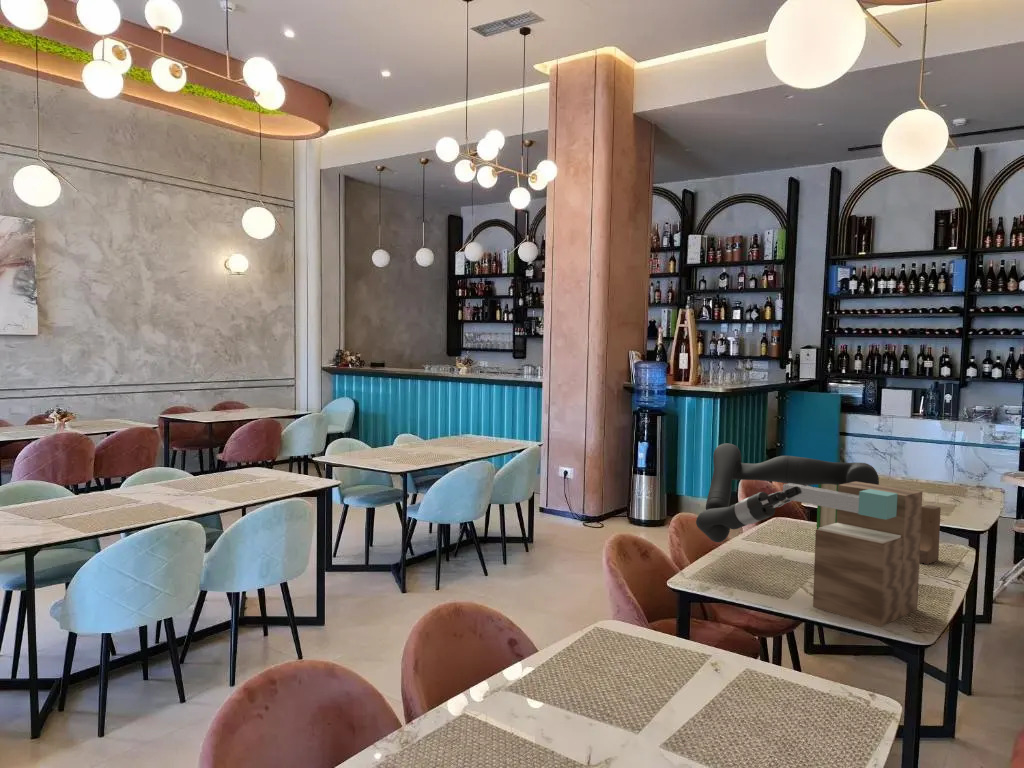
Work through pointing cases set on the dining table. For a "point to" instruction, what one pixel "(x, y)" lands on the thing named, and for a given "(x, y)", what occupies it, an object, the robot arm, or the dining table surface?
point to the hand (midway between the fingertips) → (802, 488)
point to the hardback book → (826, 509)
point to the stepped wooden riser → (870, 560)
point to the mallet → (849, 500)
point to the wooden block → (929, 534)
